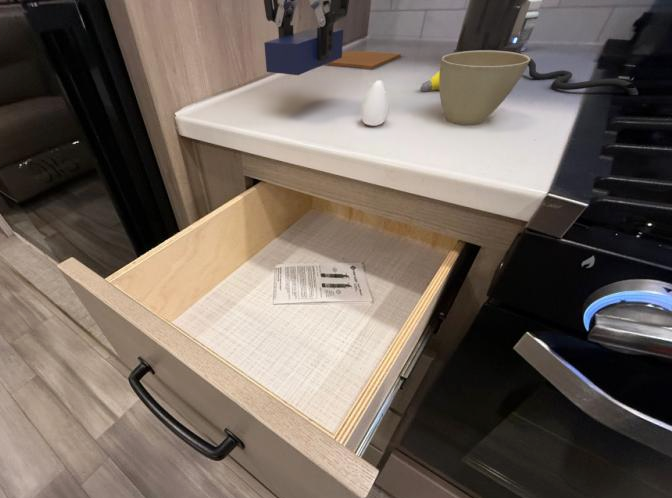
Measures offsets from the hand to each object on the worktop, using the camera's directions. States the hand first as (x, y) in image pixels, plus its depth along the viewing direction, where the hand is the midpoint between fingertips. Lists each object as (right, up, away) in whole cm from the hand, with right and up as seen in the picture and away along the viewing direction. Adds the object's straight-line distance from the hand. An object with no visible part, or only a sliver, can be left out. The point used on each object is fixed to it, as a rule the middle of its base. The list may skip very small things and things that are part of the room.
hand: (304, 57), depth 48 cm
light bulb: (+24, 0, +8) cm, 25 cm away
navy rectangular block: (0, -1, +1) cm, 1 cm away
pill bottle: (+49, +20, +24) cm, 58 cm away
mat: (+16, +21, +28) cm, 38 cm away
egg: (+10, -11, -1) cm, 15 cm away
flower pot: (+23, -11, -2) cm, 25 cm away
